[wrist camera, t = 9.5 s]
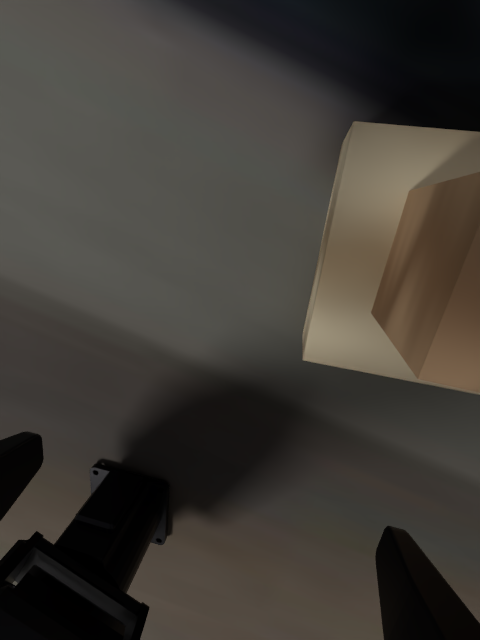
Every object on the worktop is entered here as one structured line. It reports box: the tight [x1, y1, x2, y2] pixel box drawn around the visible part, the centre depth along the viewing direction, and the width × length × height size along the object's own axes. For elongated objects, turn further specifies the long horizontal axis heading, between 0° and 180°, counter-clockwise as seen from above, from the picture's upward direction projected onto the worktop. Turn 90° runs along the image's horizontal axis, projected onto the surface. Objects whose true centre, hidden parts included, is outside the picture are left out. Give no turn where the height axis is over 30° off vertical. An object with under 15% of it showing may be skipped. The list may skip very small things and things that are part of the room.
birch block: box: [303, 121, 480, 395], centre depth 14 cm, size 10×10×4 cm
